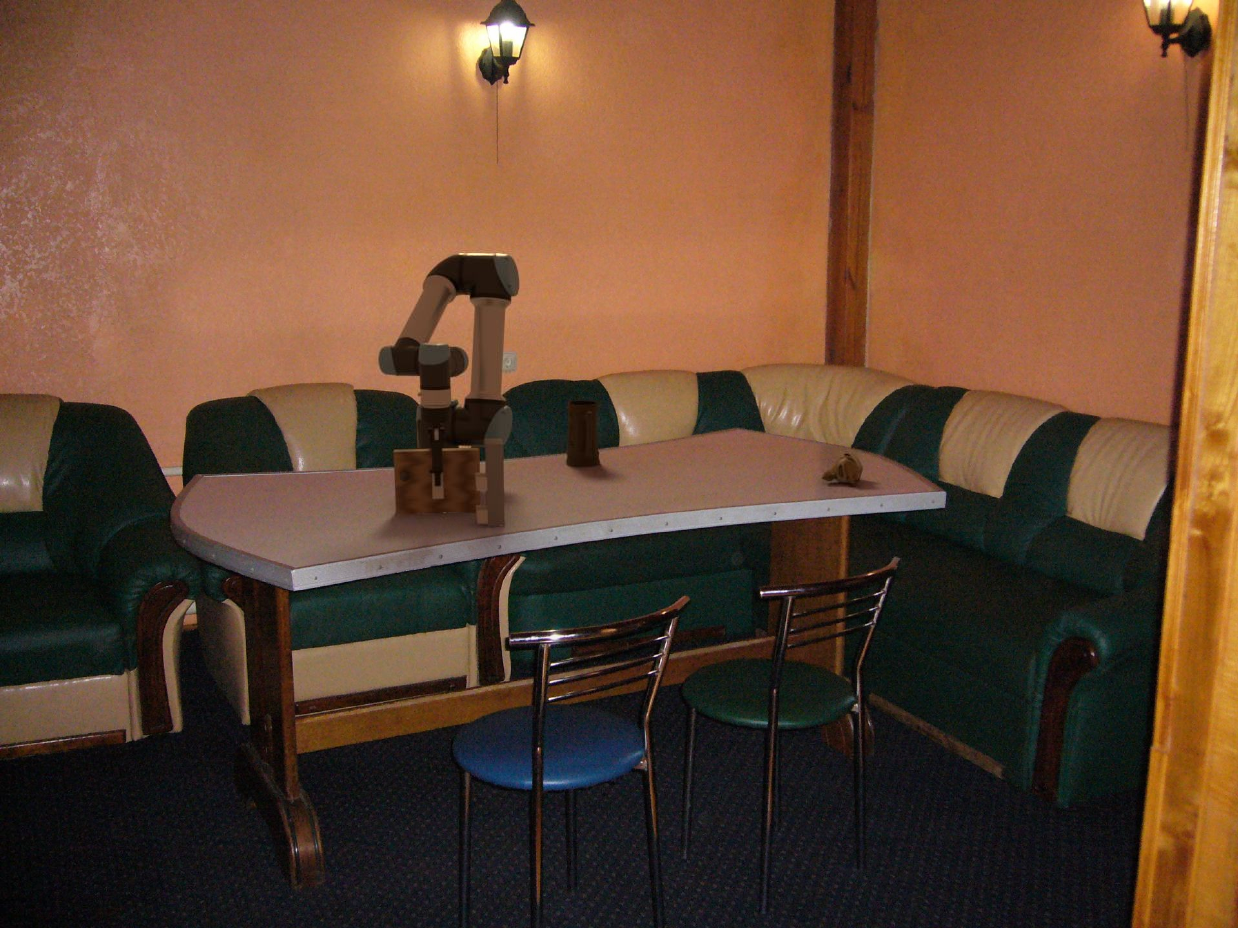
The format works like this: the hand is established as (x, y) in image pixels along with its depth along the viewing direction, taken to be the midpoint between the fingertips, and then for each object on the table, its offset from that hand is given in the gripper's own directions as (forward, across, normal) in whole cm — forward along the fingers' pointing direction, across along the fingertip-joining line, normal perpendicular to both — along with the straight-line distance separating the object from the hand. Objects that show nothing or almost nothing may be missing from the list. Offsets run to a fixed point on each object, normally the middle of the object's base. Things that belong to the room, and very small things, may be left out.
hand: (438, 493), depth 269 cm
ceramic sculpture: (+5, -20, +116) cm, 117 cm away
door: (+5, 0, 0) cm, 5 cm away
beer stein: (+5, -54, +45) cm, 70 cm away
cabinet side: (+5, +13, +12) cm, 19 cm away
